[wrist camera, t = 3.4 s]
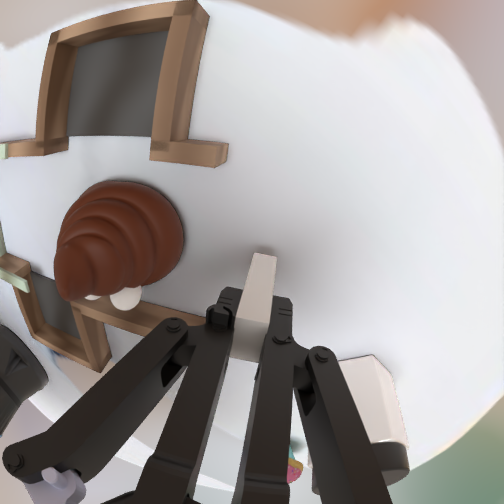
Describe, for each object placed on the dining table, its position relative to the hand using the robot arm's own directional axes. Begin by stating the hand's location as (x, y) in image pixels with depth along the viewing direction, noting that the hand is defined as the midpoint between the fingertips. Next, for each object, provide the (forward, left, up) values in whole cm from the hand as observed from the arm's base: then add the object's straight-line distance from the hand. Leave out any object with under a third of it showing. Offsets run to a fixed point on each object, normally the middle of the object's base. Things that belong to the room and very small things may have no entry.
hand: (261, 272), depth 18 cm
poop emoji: (-11, 0, -2) cm, 11 cm away
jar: (+11, -12, -2) cm, 17 cm away
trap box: (-19, 0, -2) cm, 19 cm away
